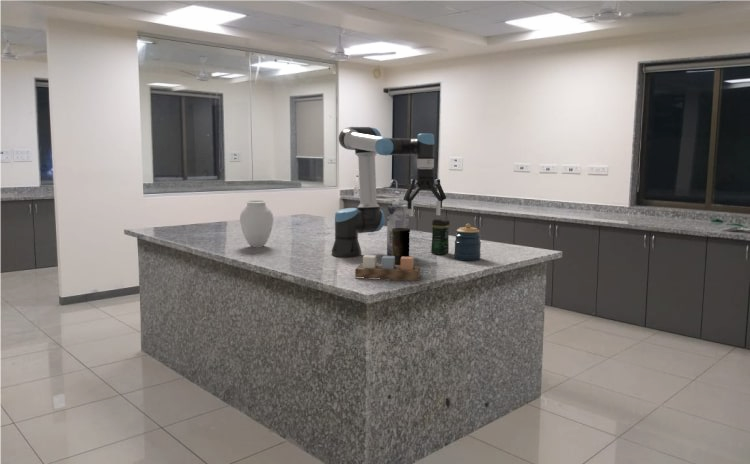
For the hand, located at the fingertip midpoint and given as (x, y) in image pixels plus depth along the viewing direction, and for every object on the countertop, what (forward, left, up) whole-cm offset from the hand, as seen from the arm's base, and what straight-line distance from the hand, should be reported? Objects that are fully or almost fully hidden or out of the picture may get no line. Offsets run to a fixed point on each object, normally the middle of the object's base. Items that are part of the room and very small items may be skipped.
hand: (424, 215), depth 260 cm
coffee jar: (+6, +37, -24) cm, 45 cm away
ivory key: (-21, -23, -21) cm, 38 cm away
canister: (+20, +25, -24) cm, 40 cm away
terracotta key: (-5, -23, -21) cm, 32 cm away
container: (-10, -4, -24) cm, 26 cm away
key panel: (-13, -23, -24) cm, 36 cm away
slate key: (-13, -23, -21) cm, 34 cm away
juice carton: (-15, +27, -24) cm, 39 cm away
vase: (-94, +38, -24) cm, 105 cm away
